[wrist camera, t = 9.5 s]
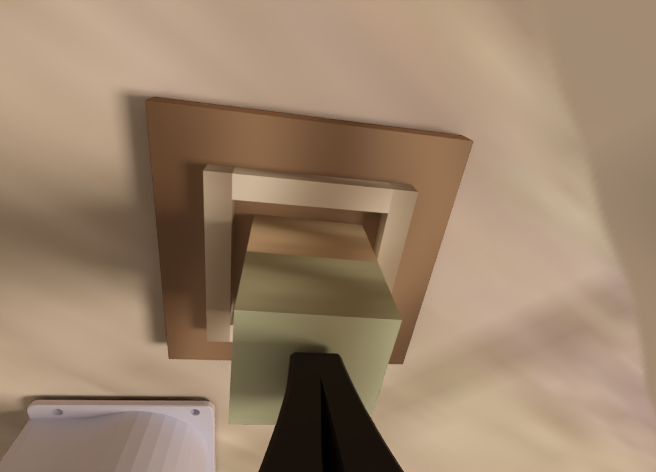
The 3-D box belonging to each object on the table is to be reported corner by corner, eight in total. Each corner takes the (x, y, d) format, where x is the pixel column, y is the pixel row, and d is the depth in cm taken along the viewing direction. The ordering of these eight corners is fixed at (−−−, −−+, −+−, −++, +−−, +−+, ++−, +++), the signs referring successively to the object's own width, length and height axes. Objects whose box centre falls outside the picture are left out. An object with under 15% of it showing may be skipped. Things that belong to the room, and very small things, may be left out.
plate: (174, 344, 18) (163, 371, 17) (155, 96, 13) (136, 103, 11) (397, 350, 20) (407, 376, 19) (462, 135, 15) (483, 145, 13)
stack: (248, 303, 16) (228, 424, 11) (254, 213, 14) (233, 309, 9) (343, 309, 17) (368, 425, 12) (362, 225, 15) (402, 320, 10)
